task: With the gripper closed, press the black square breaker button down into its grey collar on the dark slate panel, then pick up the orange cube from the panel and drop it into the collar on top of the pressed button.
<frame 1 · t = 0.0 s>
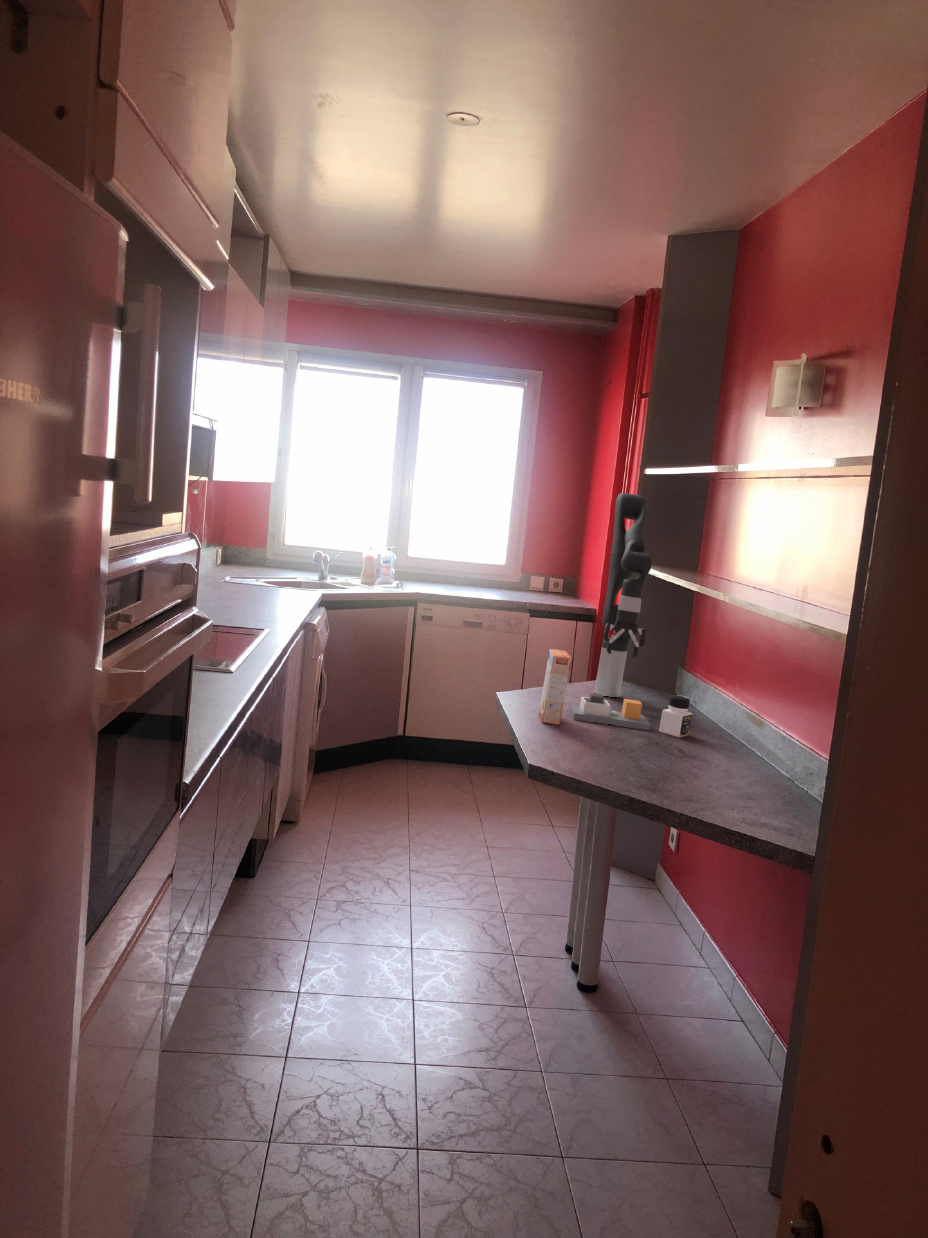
hand: (621, 655, 312), 17 cm above the countertop, tool pointing down, fingers open, 8 cm apart
breaker button: (596, 698, 286), point 6 cm above the countertop, slide at 0.0 cm
medicine bottle: (673, 734, 282), on the countertop
orange cube: (630, 716, 288), point 2 cm above the countertop, touching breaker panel
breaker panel: (608, 720, 287), on the countertop
cracker box: (549, 719, 277), on the countertop
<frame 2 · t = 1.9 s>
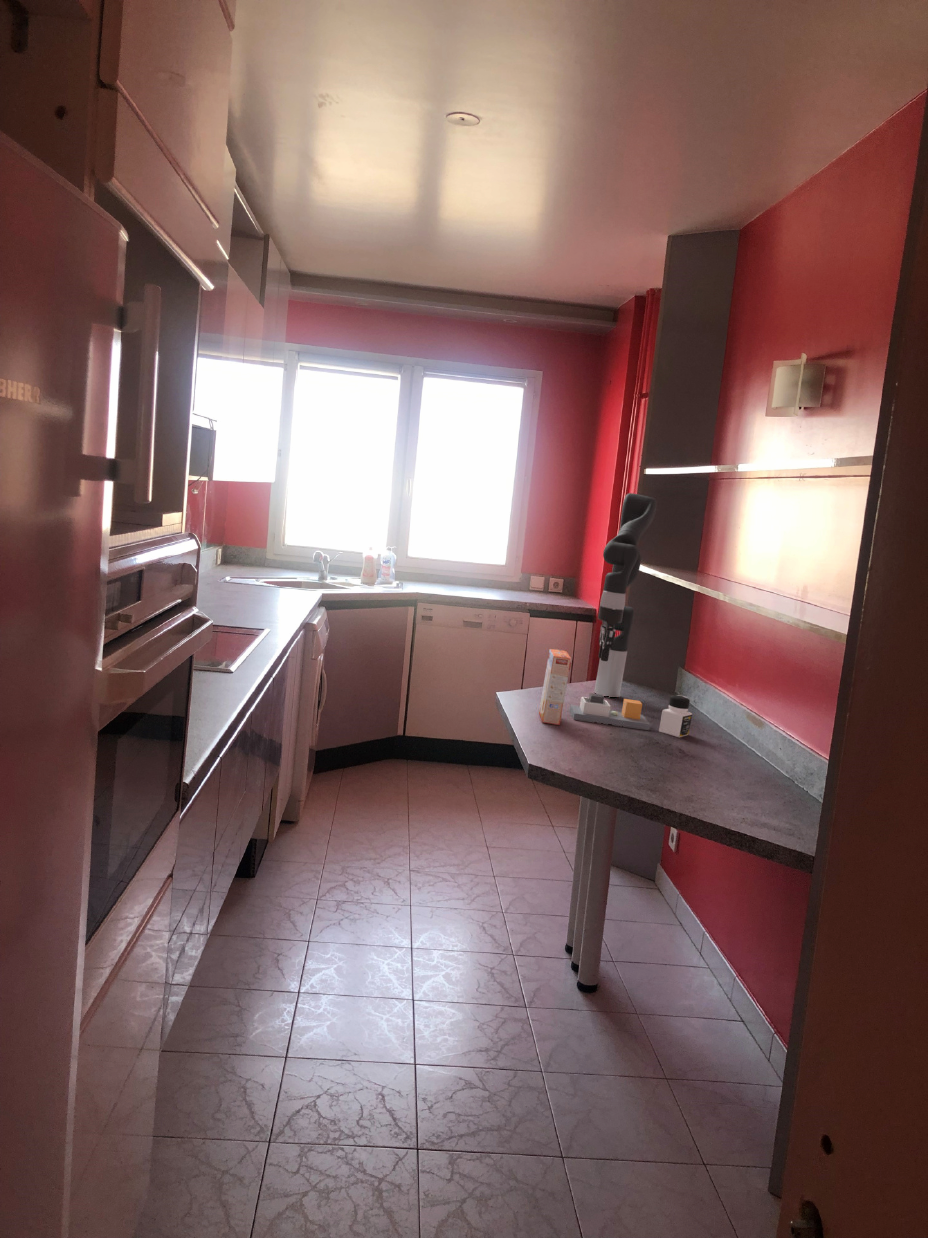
hand: (602, 659, 284), 19 cm above the countertop, tool pointing down, fingers open, 4 cm apart
nothing on the countertop moved.
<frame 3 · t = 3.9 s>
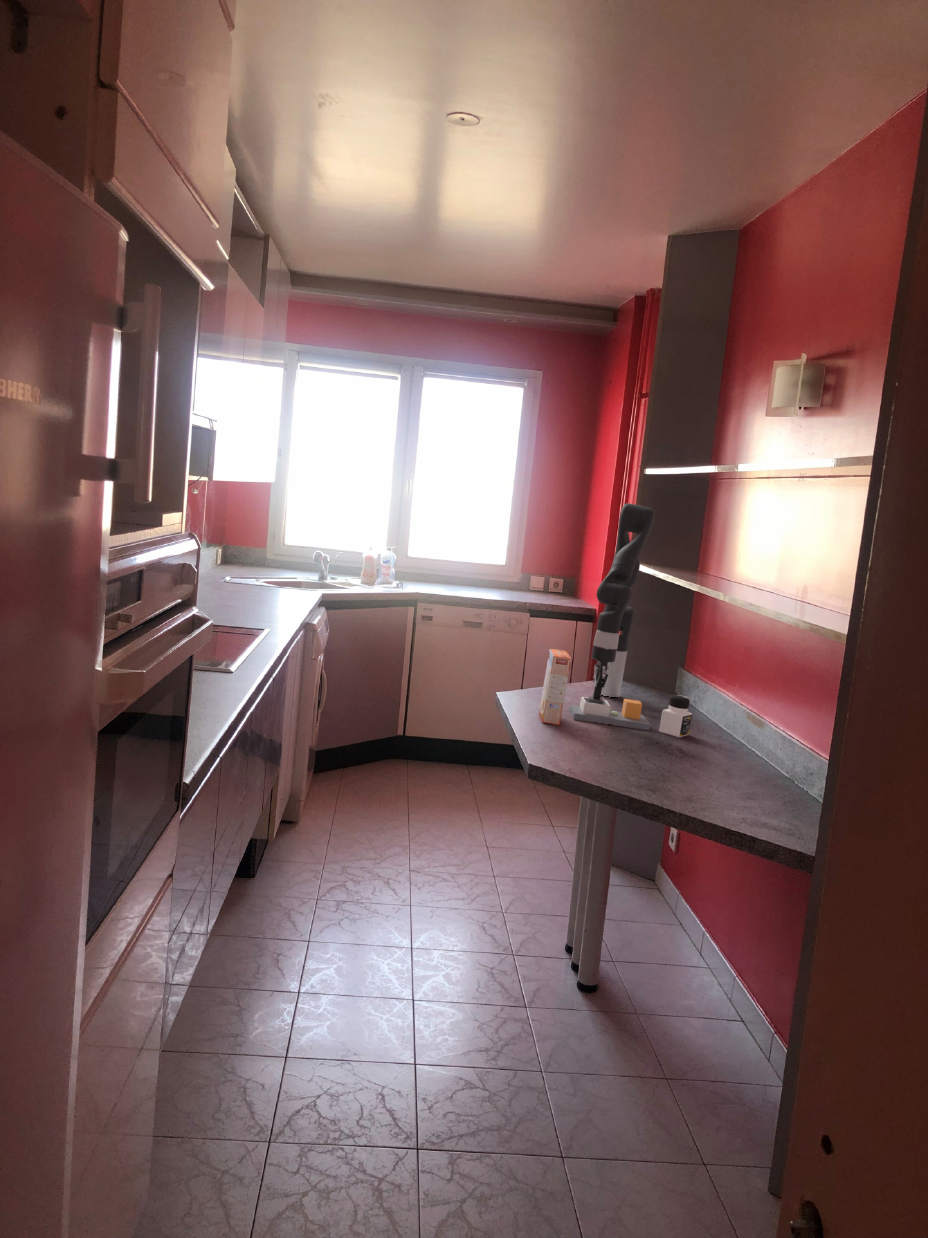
hand: (596, 698, 286), 6 cm above the countertop, tool pointing down, fingers closed
breaker button: (595, 701, 286), point 5 cm above the countertop, slide at 1.1 cm, touching gripper
everything else where it was.
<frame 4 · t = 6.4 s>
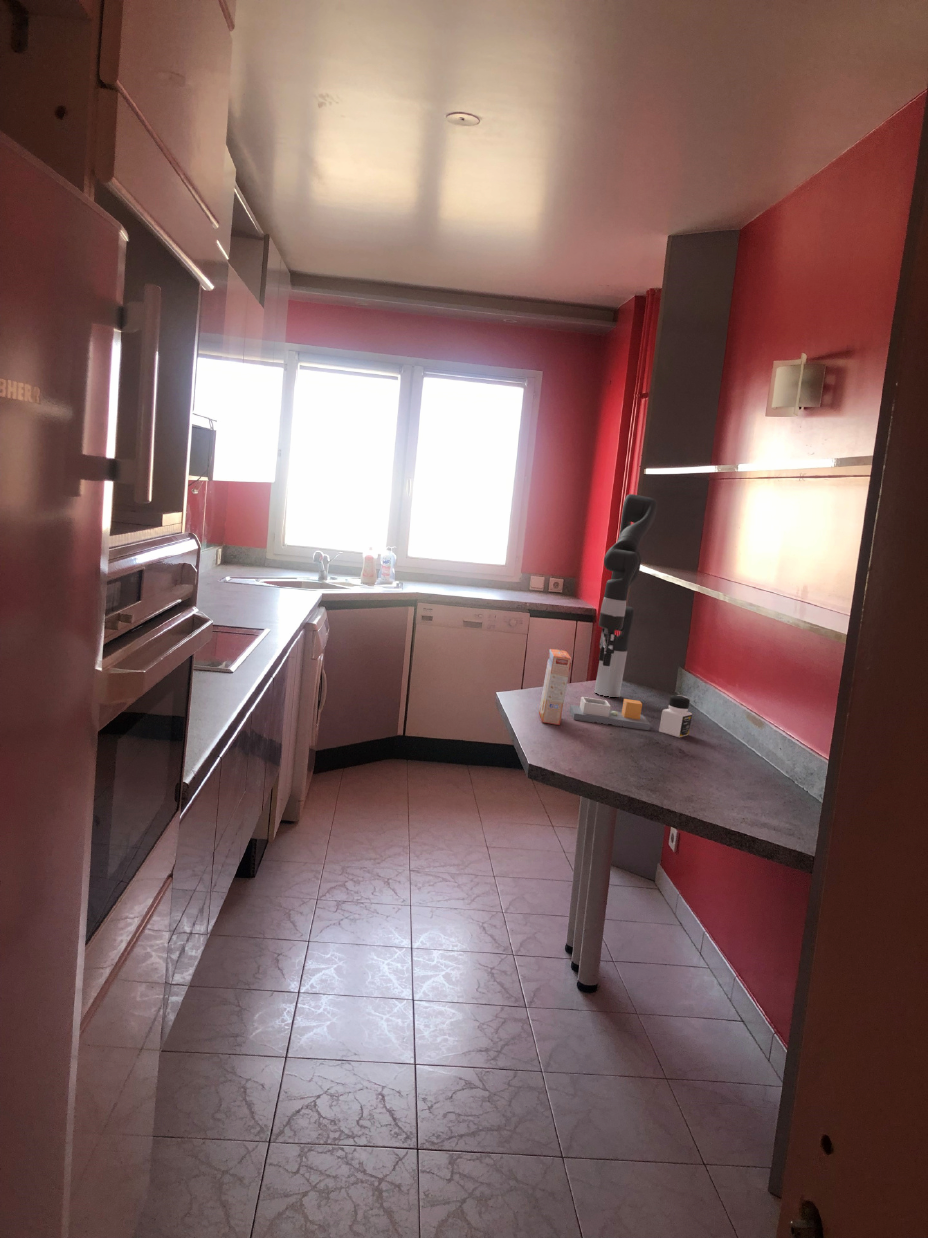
hand: (604, 663, 285), 18 cm above the countertop, tool pointing down, fingers open, 8 cm apart
breaker button: (594, 706, 286), point 4 cm above the countertop, slide at 2.7 cm
everything else where it was.
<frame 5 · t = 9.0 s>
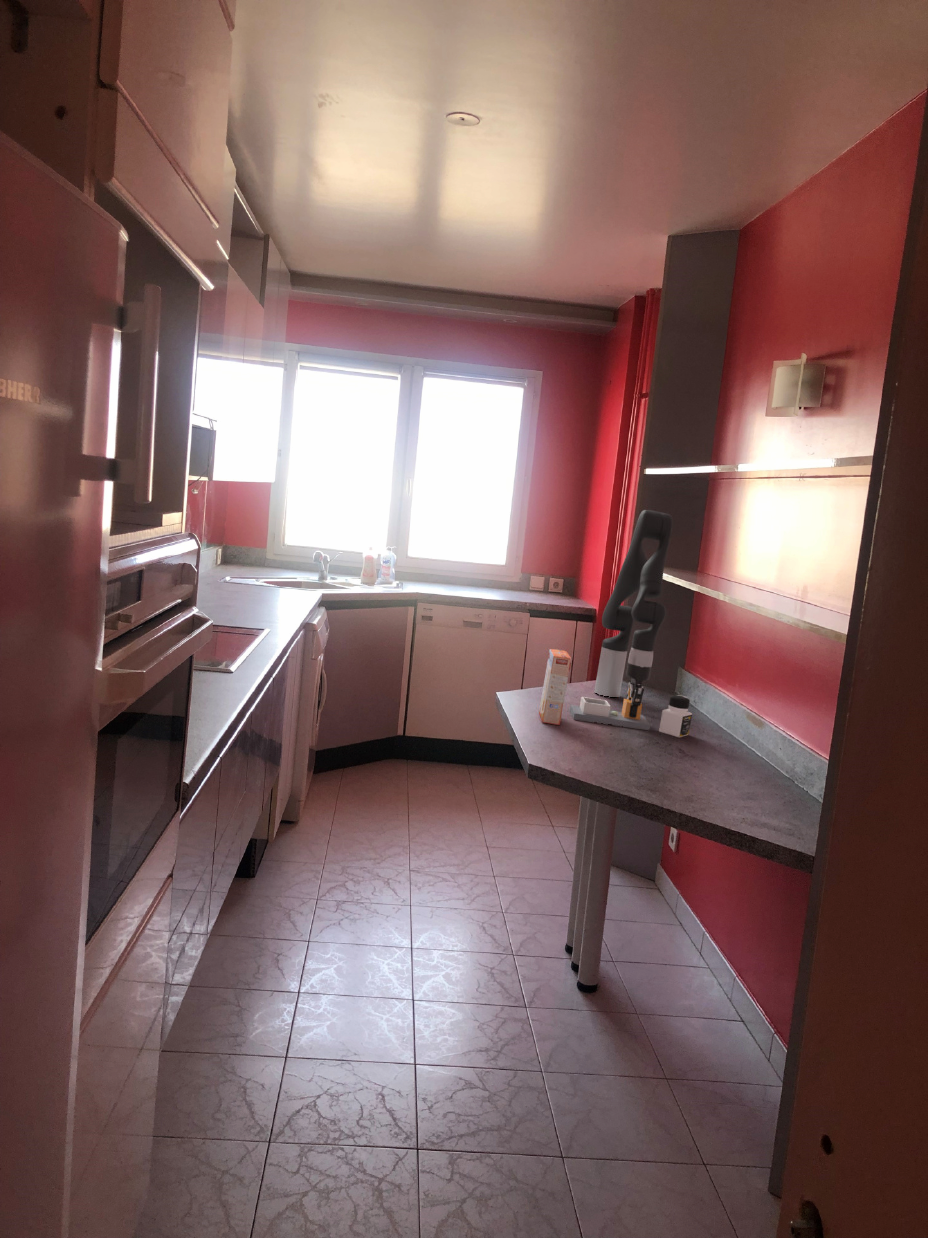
hand: (630, 714, 288), 3 cm above the countertop, tool pointing down, fingers closed on orange cube, 5 cm apart
orange cube: (630, 716, 288), point 2 cm above the countertop, touching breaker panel, gripper
everything else where it was.
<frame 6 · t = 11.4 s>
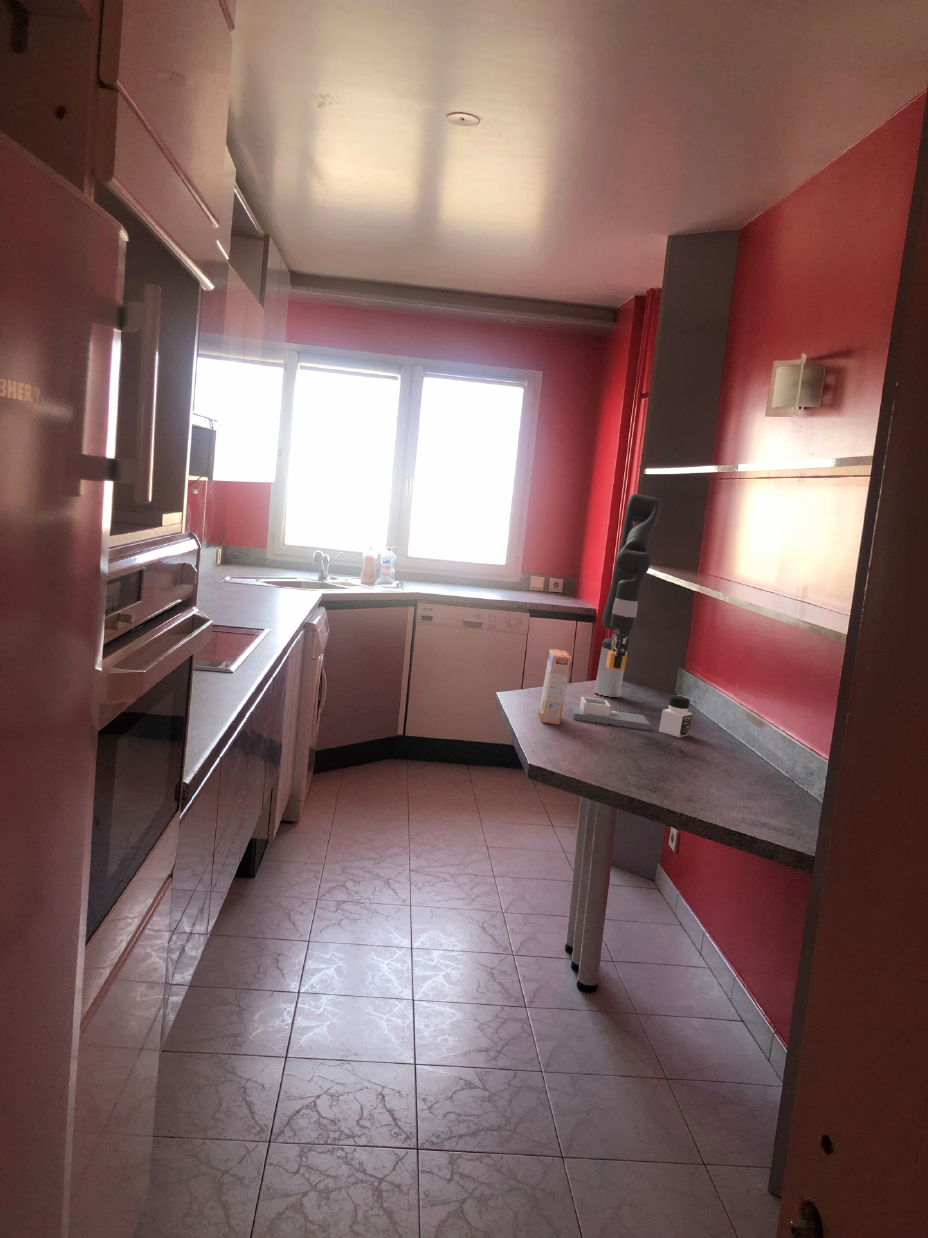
hand: (615, 666, 285), 18 cm above the countertop, tool pointing down, fingers closed on orange cube, 5 cm apart
orange cube: (614, 668, 285), point 17 cm above the countertop, touching gripper
everything else where it was.
when the fingers open (7 cm above the countertop, at t = 14.2 s): orange cube drops 2 cm, point 4 cm above the countertop.
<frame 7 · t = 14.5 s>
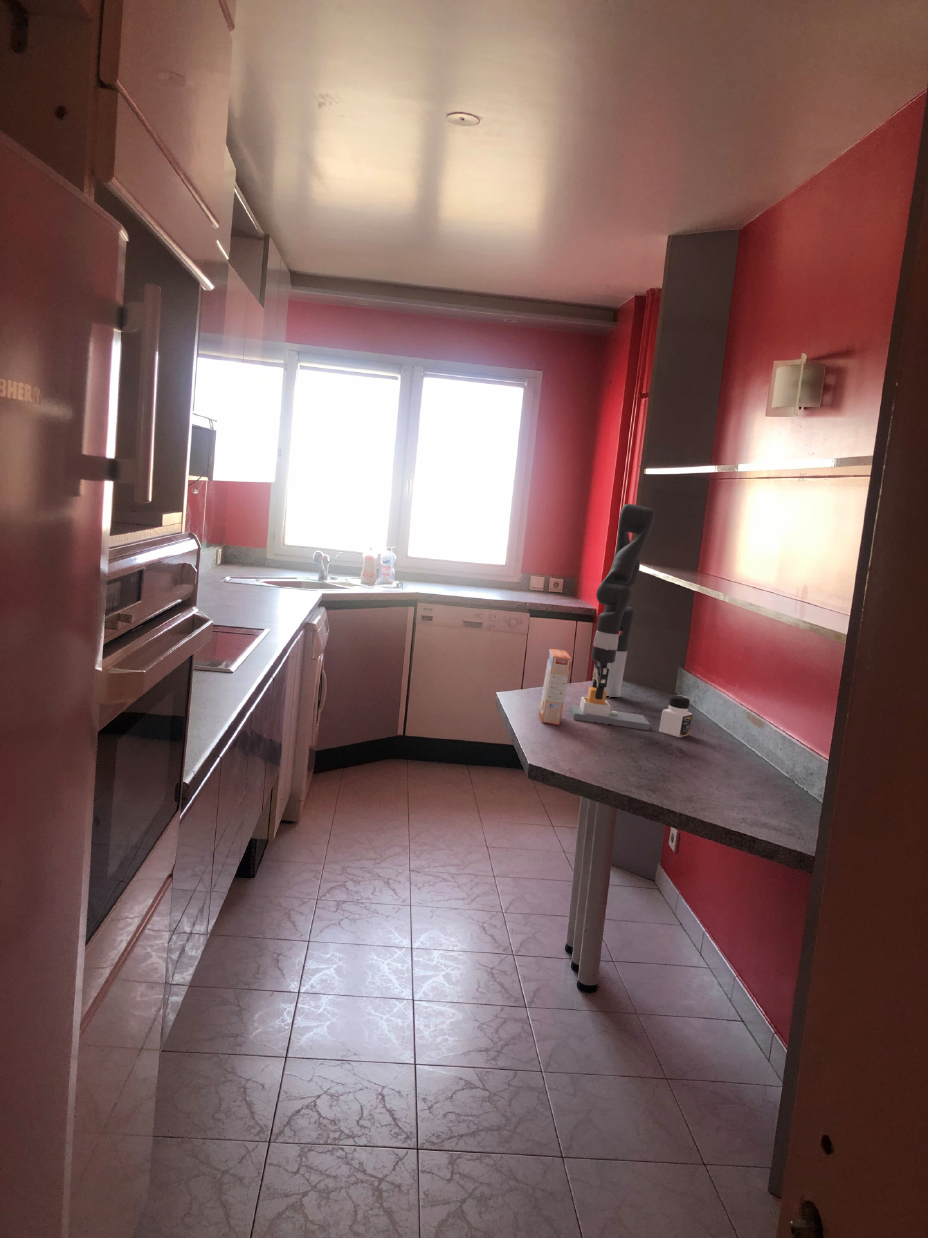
hand: (596, 696, 286), 7 cm above the countertop, tool pointing down, fingers open, 8 cm apart
breaker button: (594, 707, 286), point 3 cm above the countertop, slide at 3.1 cm
orange cube: (595, 704, 286), point 4 cm above the countertop
everything else where it was.
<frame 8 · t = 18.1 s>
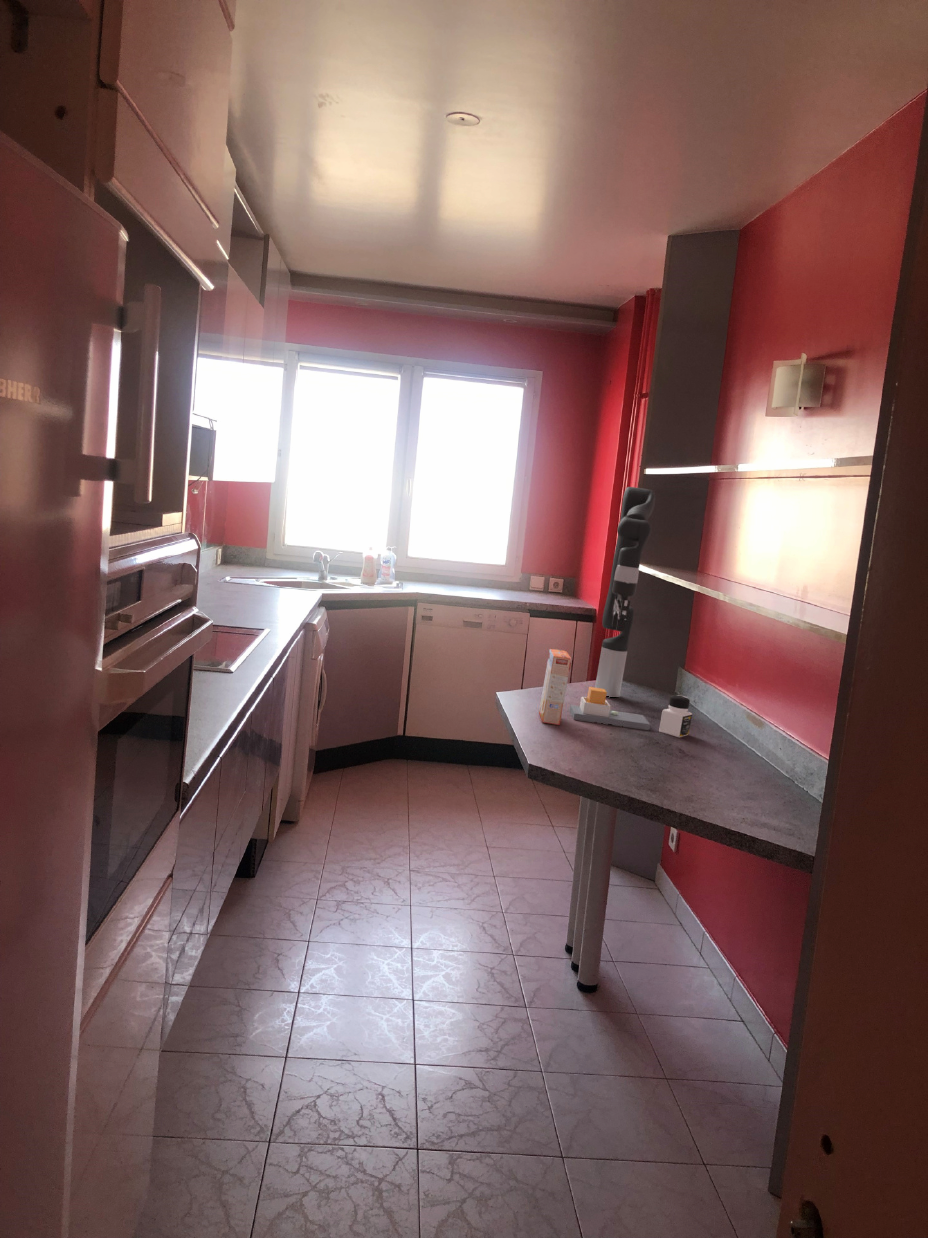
hand: (617, 629, 294), 28 cm above the countertop, tool pointing down, fingers open, 8 cm apart
nothing on the countertop moved.
at the end: breaker button slide at 3.1 cm; orange cube 0.0 cm from the target spot on the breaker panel, point 4.4 cm above the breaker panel's base; orange cube tilted 0° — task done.
